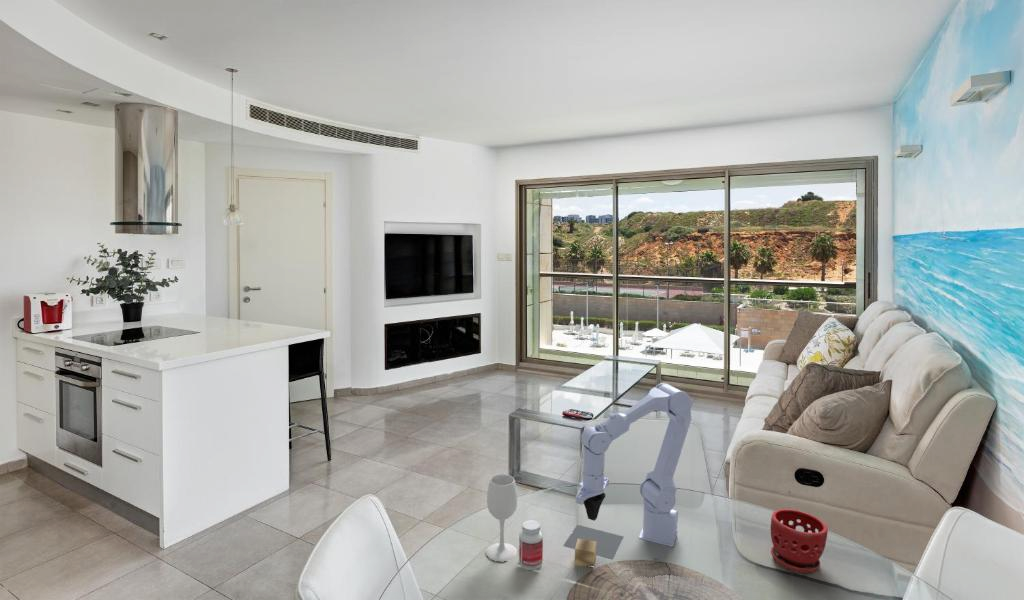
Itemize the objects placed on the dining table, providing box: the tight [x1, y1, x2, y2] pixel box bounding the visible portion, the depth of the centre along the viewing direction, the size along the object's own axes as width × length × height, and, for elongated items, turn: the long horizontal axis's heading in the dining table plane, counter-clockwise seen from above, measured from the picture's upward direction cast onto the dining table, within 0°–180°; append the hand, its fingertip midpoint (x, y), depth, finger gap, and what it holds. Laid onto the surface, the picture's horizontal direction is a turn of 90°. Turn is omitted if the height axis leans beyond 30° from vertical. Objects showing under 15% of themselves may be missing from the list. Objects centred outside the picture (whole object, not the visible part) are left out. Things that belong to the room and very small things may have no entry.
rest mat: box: [562, 524, 625, 560], centre depth 152 cm, size 14×12×1 cm
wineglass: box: [485, 473, 518, 562], centre depth 145 cm, size 9×9×21 cm
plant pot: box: [770, 508, 829, 574], centre depth 143 cm, size 13×13×12 cm
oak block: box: [574, 539, 597, 568], centre depth 143 cm, size 5×5×5 cm
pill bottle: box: [518, 519, 544, 571], centre depth 141 cm, size 6×6×11 cm
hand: (592, 518), depth 149 cm, fingers closed
